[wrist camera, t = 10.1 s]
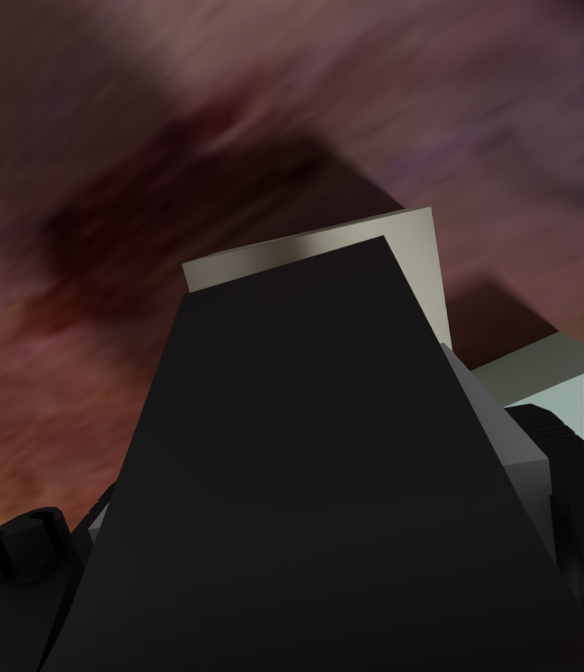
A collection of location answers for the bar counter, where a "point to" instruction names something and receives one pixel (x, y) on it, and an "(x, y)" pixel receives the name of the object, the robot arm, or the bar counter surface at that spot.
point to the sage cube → (541, 378)
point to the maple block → (398, 228)
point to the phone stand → (315, 498)
